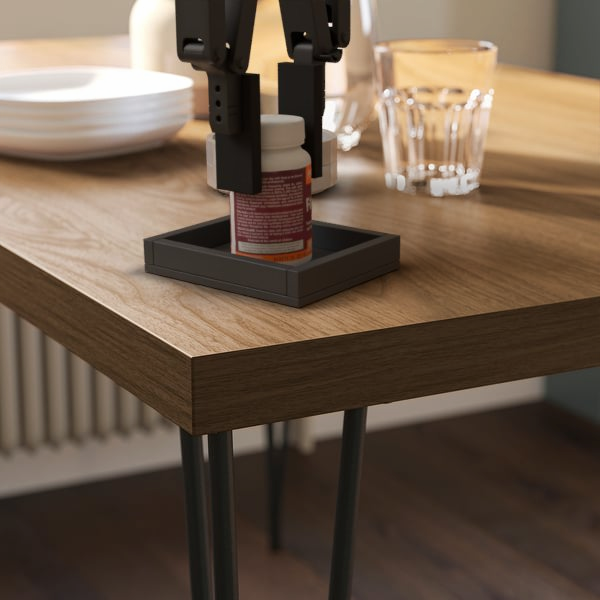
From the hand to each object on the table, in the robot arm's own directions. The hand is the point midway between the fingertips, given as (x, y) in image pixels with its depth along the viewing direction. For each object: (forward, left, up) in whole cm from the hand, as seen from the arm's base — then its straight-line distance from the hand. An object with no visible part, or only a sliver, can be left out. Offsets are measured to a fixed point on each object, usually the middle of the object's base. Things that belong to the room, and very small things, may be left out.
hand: (270, 181), depth 68 cm
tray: (0, 0, -5) cm, 5 cm away
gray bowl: (+15, -18, -5) cm, 24 cm away
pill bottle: (0, 0, -5) cm, 5 cm away
